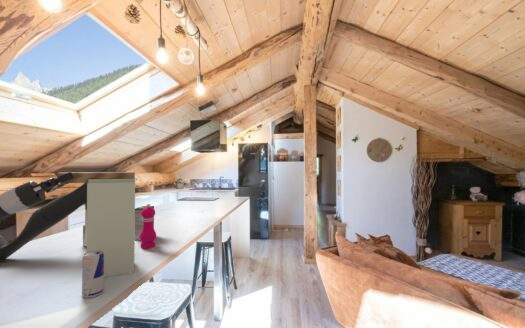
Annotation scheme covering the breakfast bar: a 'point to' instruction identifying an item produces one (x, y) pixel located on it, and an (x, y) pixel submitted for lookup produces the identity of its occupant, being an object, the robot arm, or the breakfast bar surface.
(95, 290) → the energy drink
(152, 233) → the pepper mill
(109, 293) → the breakfast bar surface
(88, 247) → the post
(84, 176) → the bar
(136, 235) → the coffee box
